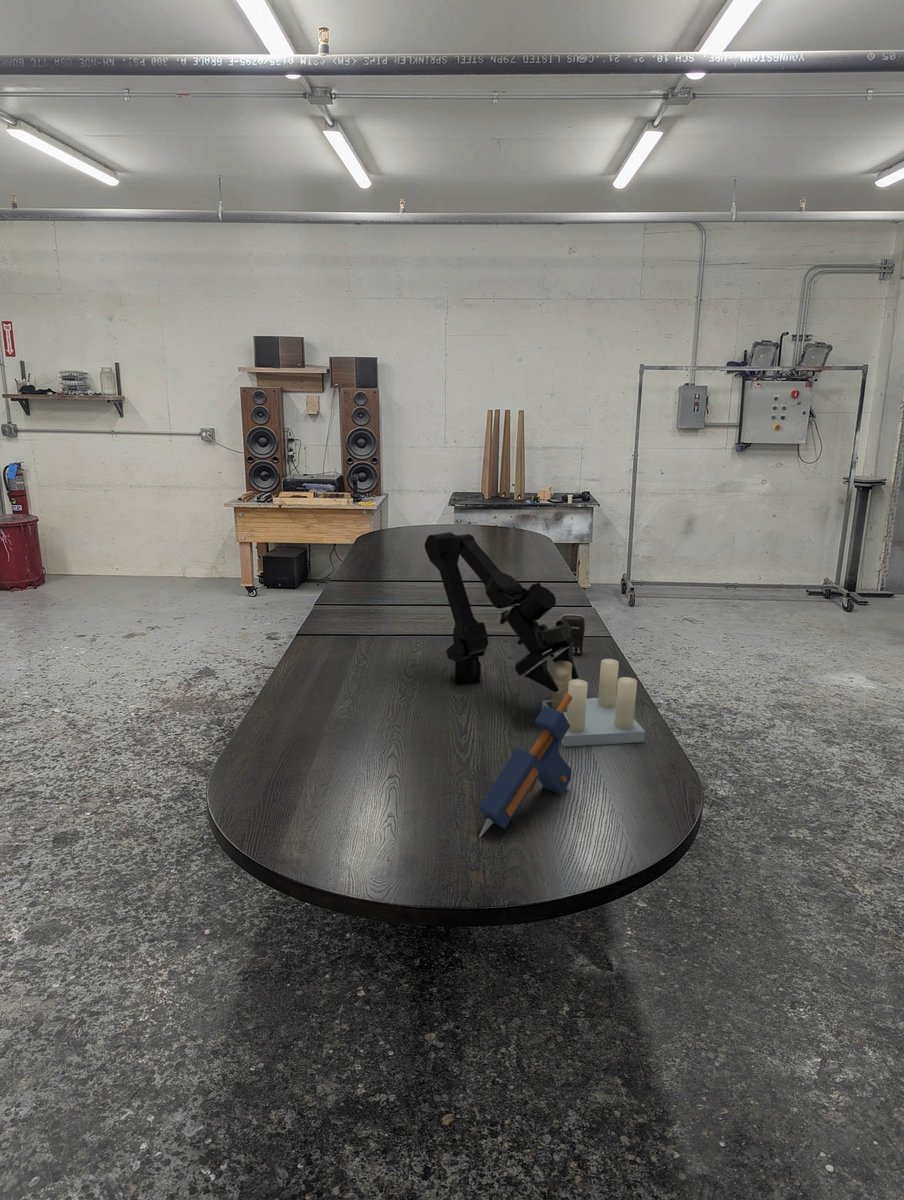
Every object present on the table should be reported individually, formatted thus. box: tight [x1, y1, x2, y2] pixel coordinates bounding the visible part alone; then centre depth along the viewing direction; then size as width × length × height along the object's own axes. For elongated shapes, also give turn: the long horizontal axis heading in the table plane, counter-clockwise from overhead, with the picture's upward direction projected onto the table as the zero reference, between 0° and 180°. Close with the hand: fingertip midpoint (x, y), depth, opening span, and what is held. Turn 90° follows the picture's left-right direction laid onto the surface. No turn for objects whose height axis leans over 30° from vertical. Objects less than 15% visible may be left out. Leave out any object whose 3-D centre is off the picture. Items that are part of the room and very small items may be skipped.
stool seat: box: [541, 658, 646, 748], centre depth 165 cm, size 18×18×13 cm
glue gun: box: [478, 694, 573, 838], centre depth 135 cm, size 6×31×15 cm
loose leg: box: [551, 661, 572, 712], centre depth 169 cm, size 4×4×13 cm
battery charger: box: [560, 613, 586, 656], centre depth 208 cm, size 7×4×11 cm, turn 83°
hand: (567, 685), depth 168 cm, fingers open, 9 cm apart
